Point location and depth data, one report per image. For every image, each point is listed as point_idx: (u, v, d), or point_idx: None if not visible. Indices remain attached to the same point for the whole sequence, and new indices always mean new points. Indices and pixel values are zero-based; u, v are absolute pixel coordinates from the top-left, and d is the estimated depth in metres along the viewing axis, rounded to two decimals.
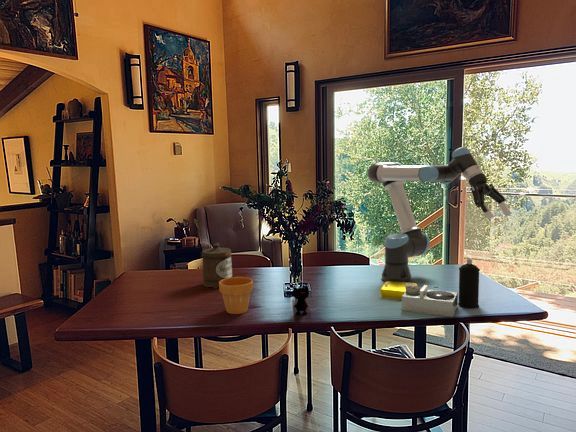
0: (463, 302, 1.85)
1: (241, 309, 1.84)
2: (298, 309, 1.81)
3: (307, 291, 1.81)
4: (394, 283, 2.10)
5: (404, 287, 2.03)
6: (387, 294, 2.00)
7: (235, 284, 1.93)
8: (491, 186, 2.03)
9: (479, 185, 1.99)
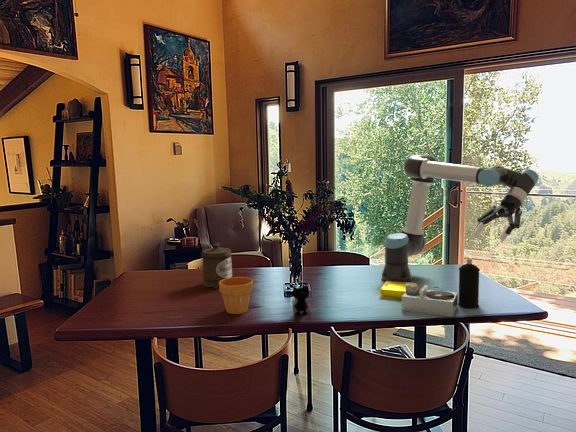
0: (463, 302, 1.85)
1: (241, 309, 1.84)
2: (298, 309, 1.81)
3: (307, 291, 1.81)
4: (394, 283, 2.10)
5: (404, 287, 2.03)
6: (387, 294, 2.01)
7: (235, 284, 1.93)
8: None
9: None
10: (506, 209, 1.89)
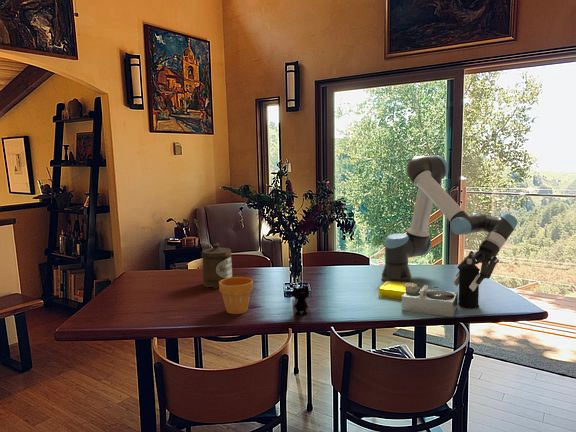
0: (463, 302, 1.85)
1: (241, 309, 1.84)
2: (298, 309, 1.81)
3: (307, 291, 1.81)
4: (394, 283, 2.10)
5: (403, 287, 2.03)
6: (385, 293, 2.01)
7: (235, 284, 1.93)
8: None
9: None
10: (483, 255, 1.86)
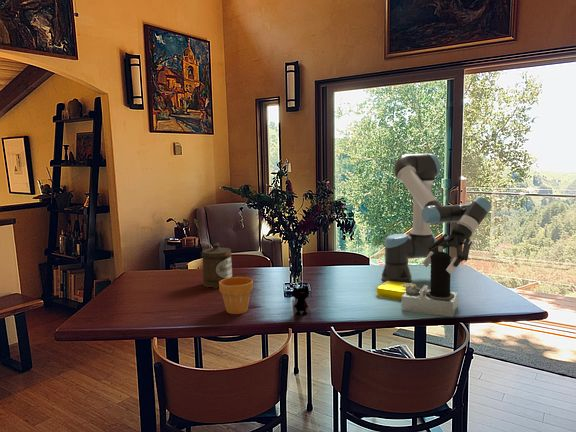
0: (434, 291, 1.80)
1: (241, 309, 1.84)
2: (298, 309, 1.81)
3: (307, 291, 1.81)
4: (393, 283, 2.10)
5: (401, 287, 2.03)
6: (382, 293, 2.02)
7: (235, 284, 1.93)
8: None
9: None
10: (456, 239, 1.81)
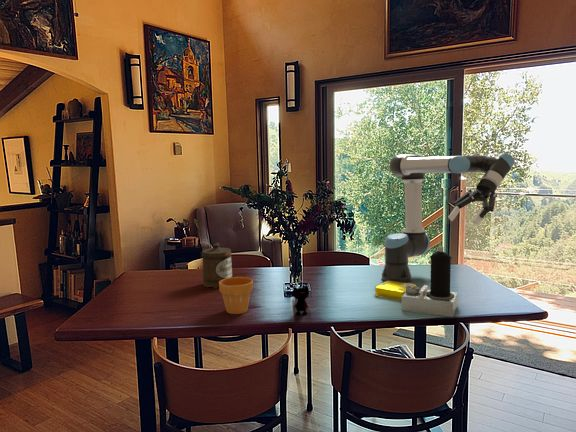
0: (434, 290, 1.80)
1: (241, 309, 1.84)
2: (298, 309, 1.81)
3: (307, 291, 1.81)
4: (393, 283, 2.11)
5: (399, 287, 2.03)
6: (380, 292, 2.03)
7: (235, 284, 1.93)
8: None
9: None
10: (481, 193, 1.87)
